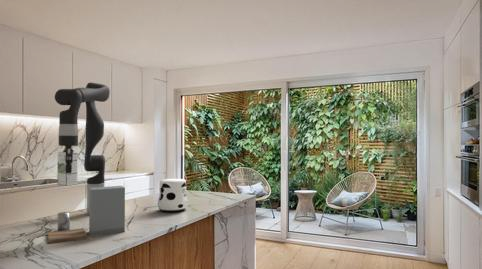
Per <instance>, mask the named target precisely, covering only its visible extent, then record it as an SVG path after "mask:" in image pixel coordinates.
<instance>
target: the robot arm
mask: <svg viewBox="0 0 482 269" xmlns="http://www.w3.org/2000/svg"><path fill="white" fill-rule="evenodd" d="M110 92H111V90H110V88H109V87H108V85H105V84H101V83H97V82H87V83H86V86H85V87H77V88H60V89H58V90H57V91H55V94H54V101H55V102H56V103H57V104H58V105H60V106H69V107H68V109H66V110H65V109H64V110H62V111H60V112H59V115H58V116H59V126H58V146H59V147H64V149H63V150H62V152H63V153H64V152H66V156H65V155H64V160H65V164H66V173H71V172H72V162H73V161H72V160H73V153H74V152H75V150H74V149H73V146H74V147H75V146H76V147H77V146H78V145H79V127H78V124H79V123H78V122H79V121H78V120H79V119H78V115H79V112H80V109H81V108H80V107H81V106H82V103H83V104H84V103H85V109H86V110H85V113H86V115H85V150H84V160H83V166H84V171H85V172H90V173H91V172H98V173H97V174H95V175H93V176H91V177H88V178H87V179H86V215H89V201H90V188H94V187H105V172H106V170H105V169H106V157H105V155H102V154H97V155H96V154H94V155H92V153H93V151H94V149H95V148H96V147H97V145H99V143H100V142H101V140H102V139H103V137H104V134H105V123H104V121H103V118H102V117H101V115H100V113H99V112H98V109H97V107H96V102H102V103H103V102H106V101H108V99H110V98H109V97H110V95H111V94H110ZM67 157H68V158H67ZM67 159H69V160H67Z"/></svg>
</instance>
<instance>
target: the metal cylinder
mask: <svg viewBox="0 0 482 269" xmlns="http://www.w3.org/2000/svg"><path fill="white" fill-rule="evenodd" d="M70 223H71V211H60V212H57V231H65V230H71V228H70V227H71V225H70Z"/></svg>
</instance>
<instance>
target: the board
mask: <svg viewBox="0 0 482 269" xmlns="http://www.w3.org/2000/svg"><path fill="white" fill-rule="evenodd" d="M87 238H88V236H87V233H86V230H85V228H84V227H82V228H73V229H70V230H65V231H49V232H48V244H56V243H62V242H63V243H65V242H71V241H77V240H86V239H87Z"/></svg>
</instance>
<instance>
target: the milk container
mask: <svg viewBox="0 0 482 269" xmlns="http://www.w3.org/2000/svg"><path fill="white" fill-rule="evenodd" d="M157 207H158V209H159V210H160V211H161V212H169V213H171V212H180V211H184V210H186V208H187V207H188V197H187V181H186V179H185V178H165V179H160V180H159V196H158V200H157Z"/></svg>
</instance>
